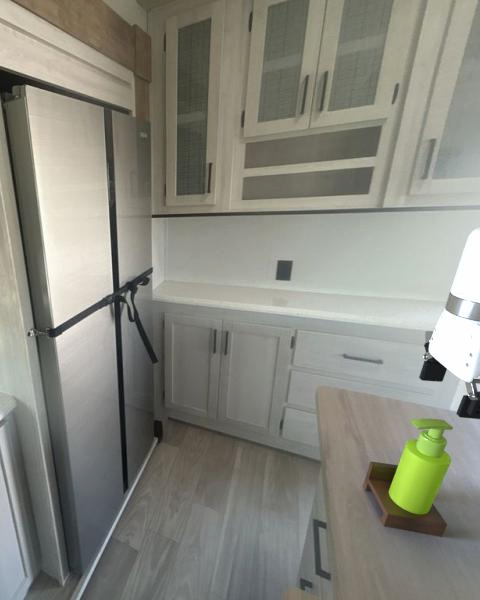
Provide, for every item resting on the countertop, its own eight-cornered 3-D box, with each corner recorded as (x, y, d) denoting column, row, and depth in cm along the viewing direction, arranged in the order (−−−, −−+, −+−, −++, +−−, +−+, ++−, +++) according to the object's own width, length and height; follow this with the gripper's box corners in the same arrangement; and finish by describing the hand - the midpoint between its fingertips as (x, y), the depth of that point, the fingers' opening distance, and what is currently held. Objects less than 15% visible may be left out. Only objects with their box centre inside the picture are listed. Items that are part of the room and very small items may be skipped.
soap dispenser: (375, 485, 69) (401, 410, 62) (413, 487, 68) (444, 411, 60) (396, 513, 64) (427, 434, 56) (438, 515, 63) (475, 435, 55)
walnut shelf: (411, 499, 71) (423, 468, 67) (439, 542, 63) (454, 510, 60) (361, 490, 74) (370, 461, 70) (381, 530, 66) (393, 499, 62)
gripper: (575, 335, 42) (522, 438, 48) (471, 287, 57) (442, 370, 63) (495, 333, 44) (456, 431, 50) (416, 287, 59) (394, 367, 66)
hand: (448, 397), depth 57 cm, fingers open, 9 cm apart
